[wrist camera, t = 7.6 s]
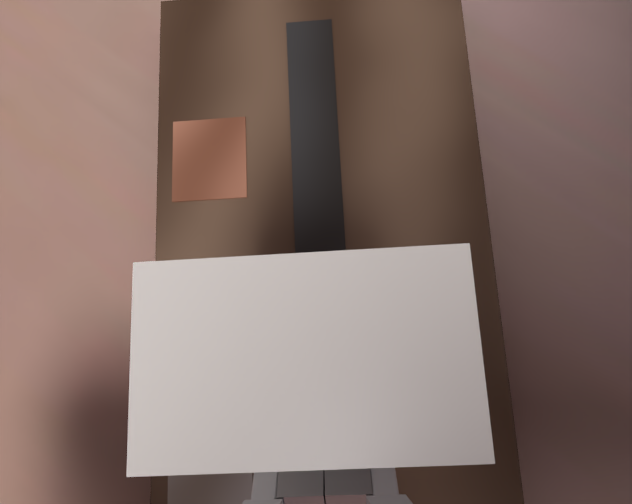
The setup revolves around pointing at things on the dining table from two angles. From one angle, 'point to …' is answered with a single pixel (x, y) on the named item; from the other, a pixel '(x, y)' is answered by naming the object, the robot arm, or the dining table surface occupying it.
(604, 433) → the dining table surface
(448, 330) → the switch tab
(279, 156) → the switch board
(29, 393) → the dining table surface
